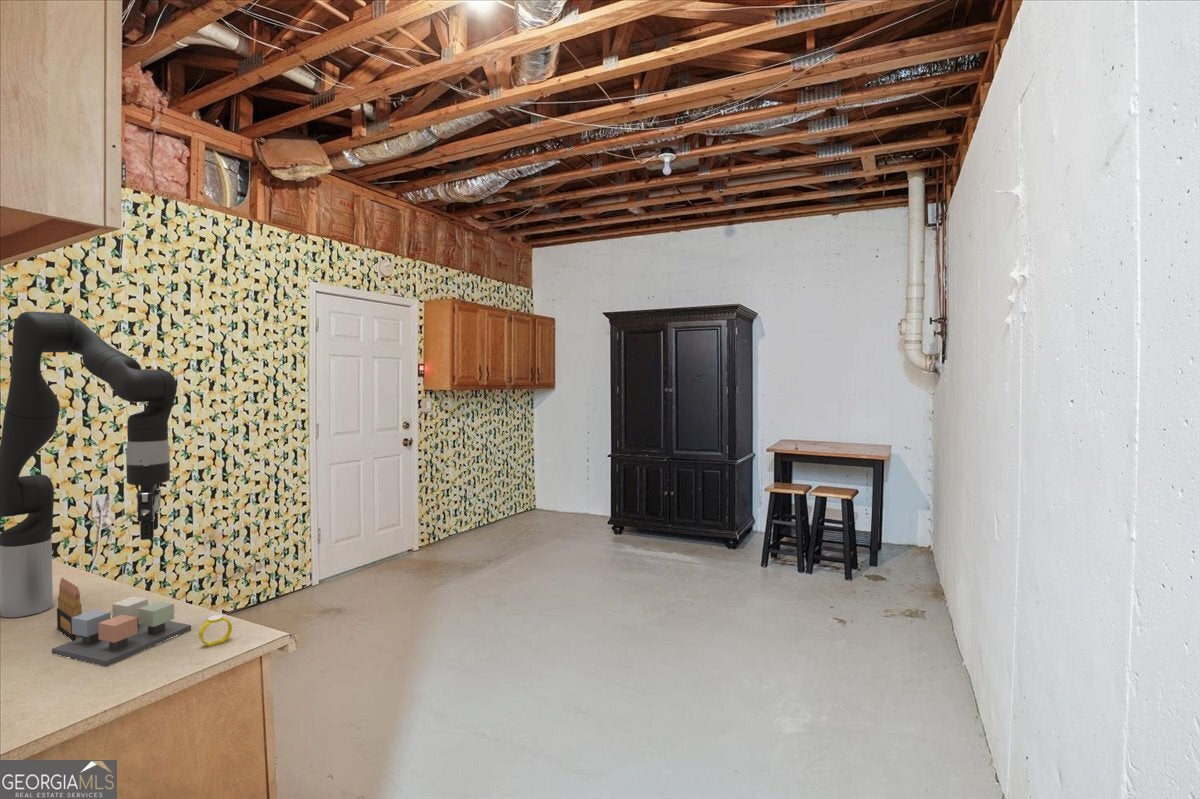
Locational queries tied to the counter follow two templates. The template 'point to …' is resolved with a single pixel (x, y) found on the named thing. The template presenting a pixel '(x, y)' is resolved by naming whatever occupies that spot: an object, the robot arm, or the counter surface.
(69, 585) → the ammunition clip
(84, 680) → the counter surface
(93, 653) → the keypad board
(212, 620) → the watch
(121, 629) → the terracotta key
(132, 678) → the counter surface
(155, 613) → the sage key
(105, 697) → the counter surface
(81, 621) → the slate key
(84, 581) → the counter surface
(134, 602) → the cream key
